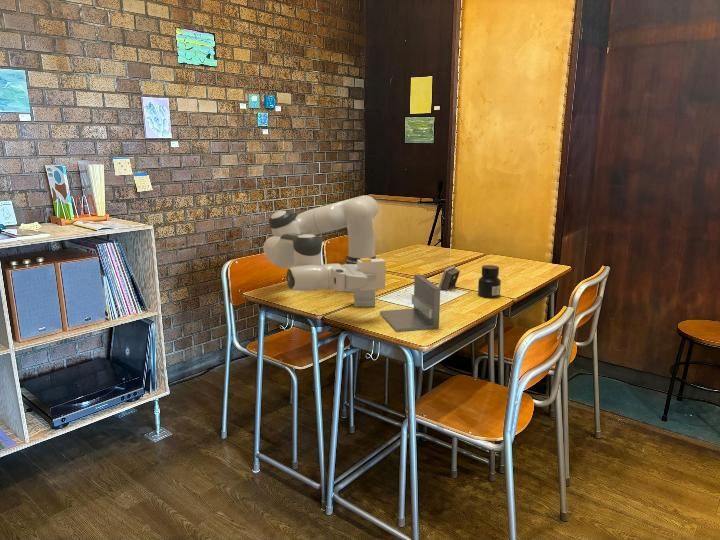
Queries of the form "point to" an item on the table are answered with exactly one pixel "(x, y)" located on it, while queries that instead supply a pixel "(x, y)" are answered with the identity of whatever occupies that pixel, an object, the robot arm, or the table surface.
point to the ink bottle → (489, 282)
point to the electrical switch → (449, 278)
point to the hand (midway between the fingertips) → (373, 274)
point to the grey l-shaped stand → (417, 308)
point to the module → (373, 267)
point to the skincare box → (364, 297)
